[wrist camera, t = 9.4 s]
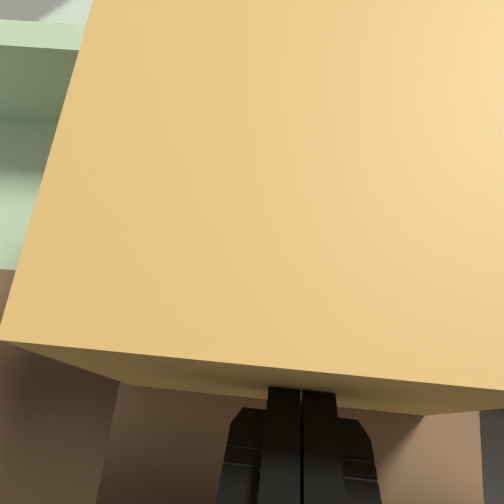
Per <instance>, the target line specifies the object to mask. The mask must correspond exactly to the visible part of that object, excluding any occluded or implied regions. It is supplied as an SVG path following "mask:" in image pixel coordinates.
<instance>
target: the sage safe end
mask: <svg viewBox="0 0 504 504" xmlns="http://www.w3.org/2000/svg"><path fill="white" fill-rule="evenodd" d="M85 28H86V25H77V24H62V23H46V22H31V21H15V20H0V269H7V270H16V269H17V265H18V262H19V258H20V255H21V251H22V248H23V244H24V241H25V237H26V234H27V230H28V227H29V223H30V220H31V216H32V213H33V209H34V206H35V202H36V199H37V195H38V192H39V188H40V185H41V181H42V178H43V174H44V171H45V167H46V164H47V160H48V157H49V154H50V150H51V147H52V143H53V140H54V136H55V133H56V129H57V126H58V122H59V119H60V115H61V112H62V108H63V105H64V101H65V98H66V94H67V91H68V87H69V84H70V80H71V77H72V73H73V70H74V66H75V63H76V59H77V56H78V52H79V49H80V45H81V42H82V38H83V35H84V31H85Z"/></svg>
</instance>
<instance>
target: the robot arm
mask: <svg viewBox="0 0 504 504" xmlns="http://www.w3.org/2000/svg"><path fill="white" fill-rule="evenodd" d="M377 479H378V478H377V472H376V466H375V465H374V455H373V449H372V443H371V439H370V437H369V436H368V434H367V433H366V431H365V430H364V428H363V427H362V425H361V424H360V422H359V421H358V420H356V419H347V418H338V413H337V403H336V395H335V393H328V392H319V391H309V390H302V395H301V402H300V390H299V389H290V388H281V387H271V386H269V387H268V397H267V408H266V410H265V409H256V408H247V407H243V408H242V409H241V410H240V411H239V413H238V414H237V415H236V417H235V418H234V419H233V420H232V422H231V423H230V428H229V433H228V439H227V445H226V450H225V455H224V461H223V466H222V471H221V477H220V482H219V487H218V493H217V498H216V504H382V501H381V495H380V490H379V484H378V483H377Z"/></svg>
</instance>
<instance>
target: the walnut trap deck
mask: <svg viewBox="0 0 504 504" xmlns="http://www.w3.org/2000/svg"><path fill="white" fill-rule="evenodd" d="M15 272H16V270H7V269H0V324H1V321H2V317H3V314H4V310H5V307H6V303H7V300H8V296H9V293H10V289H11V286H12V283H13V279H14V276H15ZM243 407H247V408H256V409H265V410H266V408H267V399H259V398H249V397H239V396H230V395H220V394H210V393H201V392H191V391H182V390H172V389H162V388H153V387H143V386H134V385H130V384H127V383H124V382H121V381H118V380H115V379H112V378H109V377H106V376H103V375H100V374H97V373H94V372H91V371H88V370H85V369H82V368H79V367H76V366H73V365H70V364H67V363H64V362H61V361H58V360H55V359H52V358H49V357H46V356H43V355H40V354H37V353H34V352H31V351H28V350H25V349H22V348H19V347H16V346H13V345H11V344H8V343H5V342H2V341H0V504H216V498H217V493H218V487H219V482H220V477H221V471H222V466H223V461H224V455H225V450H226V445H227V439H228V433H229V428H230V423H231V422H232V420H233V419H234V418H235V417H236V415H237V414H238V413H239V411H240V410H241V409H242V408H243ZM337 413H338V418H347V419H356V420H358V421H359V422H360V424H361V425H362V427H363V428H364V430H365V431H366V433H367V434H368V436H369V437H370V439H371V443H372V449H373V455H374V465H375V466H376V472H377V478H378V479H377V483H378V484H379V490H380V495H381V501H382V504H504V408H502V409H492V410H481V411H471V412H460V413H450V414H439V415H429V416H422V415H412V414H403V413H393V412H383V411H374V410H364V409H355V408H345V407H337Z"/></svg>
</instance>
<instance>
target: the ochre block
mask: <svg viewBox="0 0 504 504" xmlns="http://www.w3.org/2000/svg"><path fill="white" fill-rule="evenodd" d="M0 341H2V342H5V343H8V344H11V345H13V346H16V347H19V348H22V349H25V350H28V351H31V352H34V353H37V354H40V355H43V356H46V357H49V358H52V359H55V360H58V361H61V362H64V363H67V364H70V365H73V366H76V367H79V368H82V369H85V370H88V371H91V372H94V373H97V374H100V375H103V376H106V377H109V378H112V379H115V380H118V381H121V382H124V383H127V384H130V385H134V386H143V387H153V388H162V389H172V390H182V391H191V392H201V393H210V394H220V395H230V396H239V397H249V398H259V399H267V397H268V387H269V386H271V387H281V388H290V389H299V390H300V402H301V395H302V390H309V391H319V392H328V393H335V395H336V403H337V407H345V408H355V409H364V410H374V411H383V412H393V413H403V414H412V415H422V416H429V415H439V414H450V413H460V412H471V411H481V410H492V409H502V408H504V0H93V4H92V7H91V11H90V14H89V18H88V21H87V25H86V28H85V31H84V35H83V38H82V42H81V45H80V49H79V52H78V56H77V59H76V63H75V66H74V70H73V73H72V77H71V80H70V84H69V87H68V91H67V94H66V98H65V101H64V105H63V108H62V112H61V115H60V119H59V122H58V126H57V129H56V133H55V136H54V140H53V143H52V147H51V150H50V154H49V157H48V160H47V164H46V167H45V171H44V174H43V178H42V181H41V185H40V188H39V192H38V195H37V199H36V202H35V206H34V209H33V213H32V216H31V220H30V223H29V227H28V230H27V234H26V237H25V241H24V244H23V248H22V251H21V255H20V258H19V262H18V265H17V269H16V272H15V276H14V279H13V283H12V286H11V289H10V293H9V296H8V300H7V303H6V307H5V310H4V314H3V317H2V321H1V324H0Z"/></svg>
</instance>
